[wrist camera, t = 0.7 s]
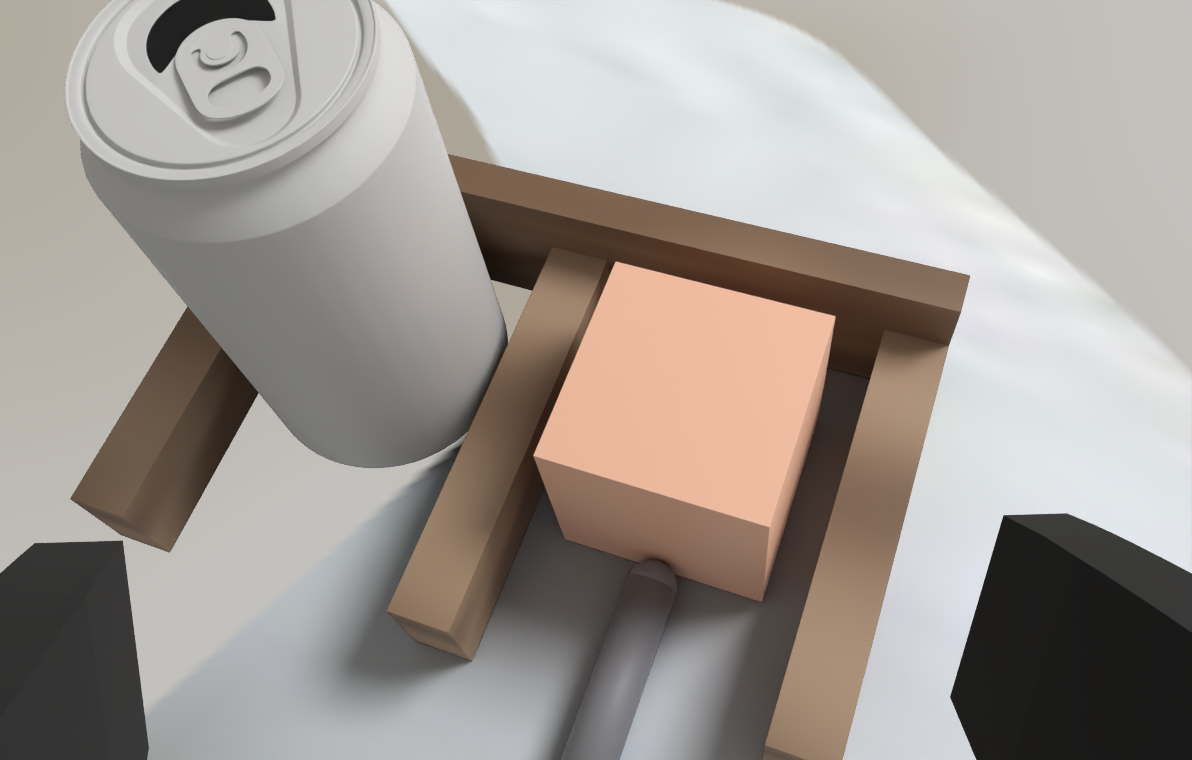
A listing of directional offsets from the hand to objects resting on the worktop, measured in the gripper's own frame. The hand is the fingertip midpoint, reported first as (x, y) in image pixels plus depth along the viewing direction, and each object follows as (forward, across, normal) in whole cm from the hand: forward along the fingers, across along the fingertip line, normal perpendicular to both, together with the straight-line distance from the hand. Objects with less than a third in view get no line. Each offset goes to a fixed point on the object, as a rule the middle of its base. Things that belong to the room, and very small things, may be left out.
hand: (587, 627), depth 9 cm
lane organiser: (+17, -2, +8) cm, 19 cm away
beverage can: (+20, +1, +8) cm, 22 cm away
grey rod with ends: (+12, -4, +11) cm, 17 cm away
